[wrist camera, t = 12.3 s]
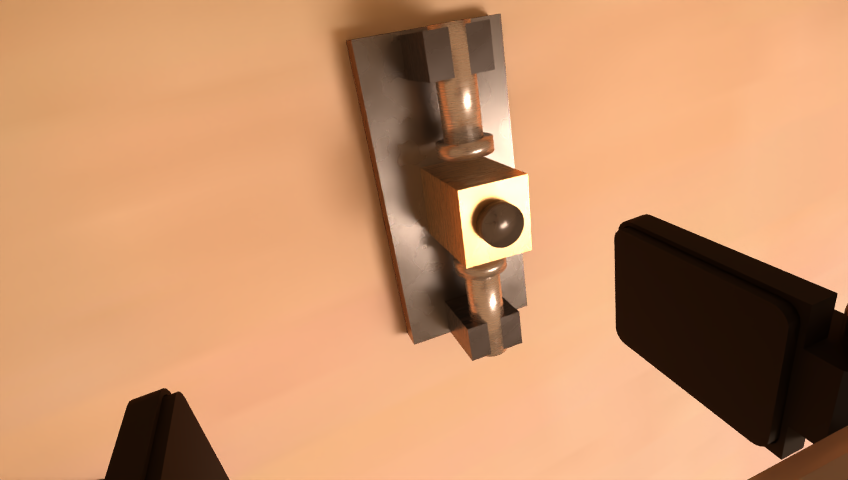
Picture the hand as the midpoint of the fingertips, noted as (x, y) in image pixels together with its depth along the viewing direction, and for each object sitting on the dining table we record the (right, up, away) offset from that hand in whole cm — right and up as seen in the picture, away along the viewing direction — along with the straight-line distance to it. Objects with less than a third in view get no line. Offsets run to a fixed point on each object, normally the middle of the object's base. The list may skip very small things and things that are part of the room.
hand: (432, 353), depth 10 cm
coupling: (+2, +5, +21) cm, 22 cm away
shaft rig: (+1, +6, +22) cm, 23 cm away
